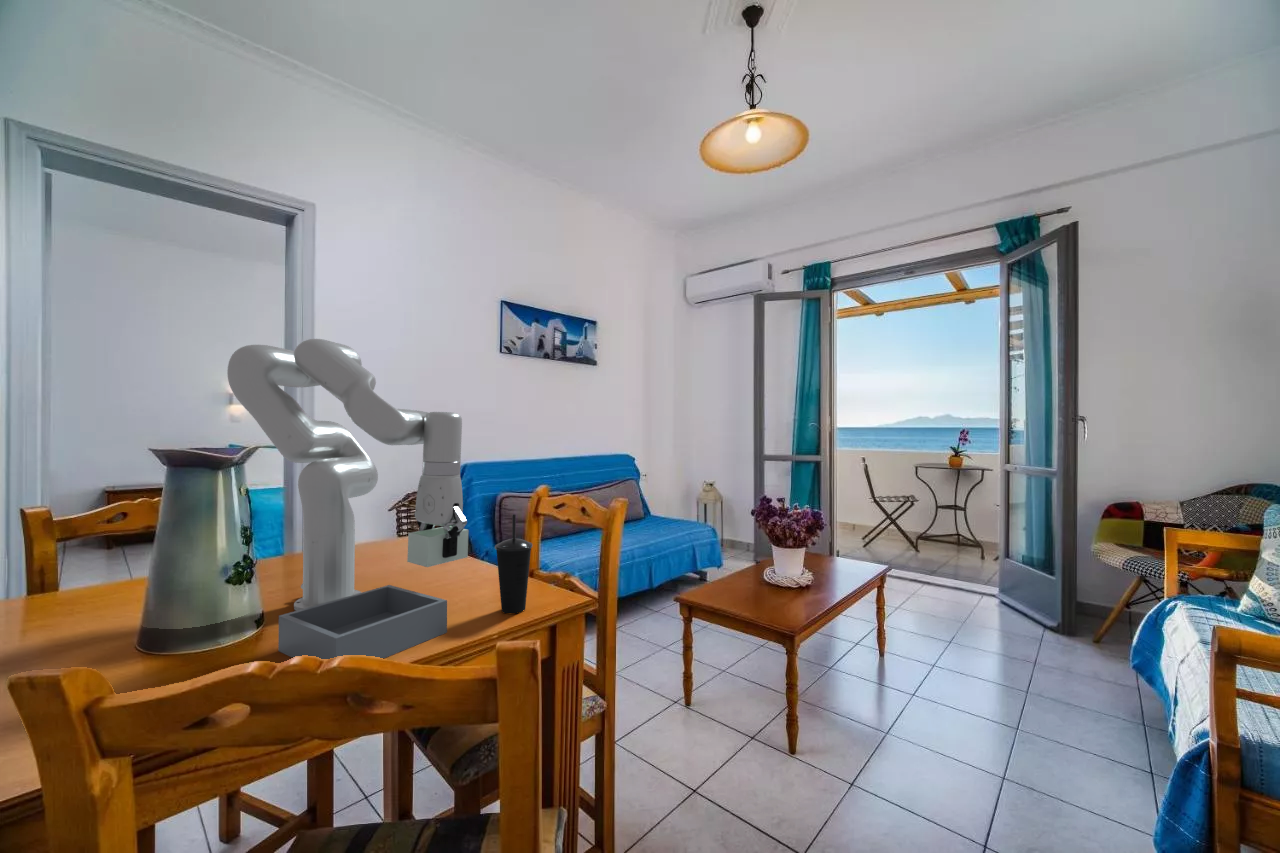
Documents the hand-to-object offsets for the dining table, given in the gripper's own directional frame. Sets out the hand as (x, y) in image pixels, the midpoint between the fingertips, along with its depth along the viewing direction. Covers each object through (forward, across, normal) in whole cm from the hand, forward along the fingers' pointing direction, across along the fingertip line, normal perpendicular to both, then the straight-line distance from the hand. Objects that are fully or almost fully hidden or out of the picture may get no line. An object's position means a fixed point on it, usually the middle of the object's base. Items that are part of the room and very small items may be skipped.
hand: (438, 553), depth 106 cm
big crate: (+12, +4, -18) cm, 21 cm away
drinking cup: (+11, +15, +8) cm, 20 cm away
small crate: (+1, 0, 0) cm, 1 cm away
